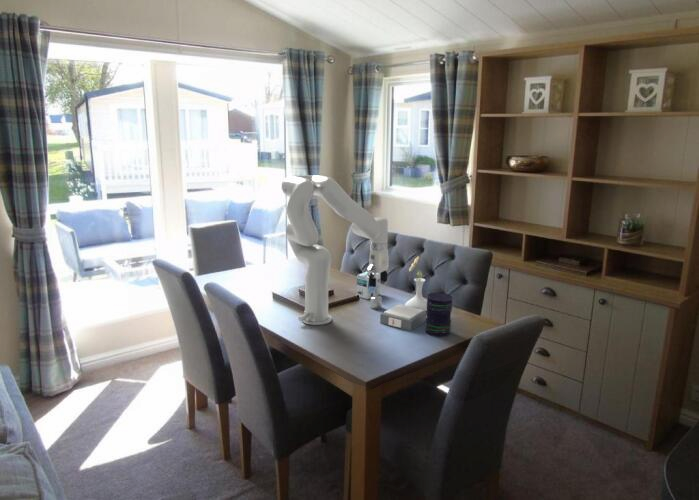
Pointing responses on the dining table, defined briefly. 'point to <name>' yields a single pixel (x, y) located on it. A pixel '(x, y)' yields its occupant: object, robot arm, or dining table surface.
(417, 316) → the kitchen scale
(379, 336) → the dining table surface
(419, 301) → the flower in vase
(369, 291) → the light bulb box
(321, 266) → the robot arm
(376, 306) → the steel weight
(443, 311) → the storage jar
